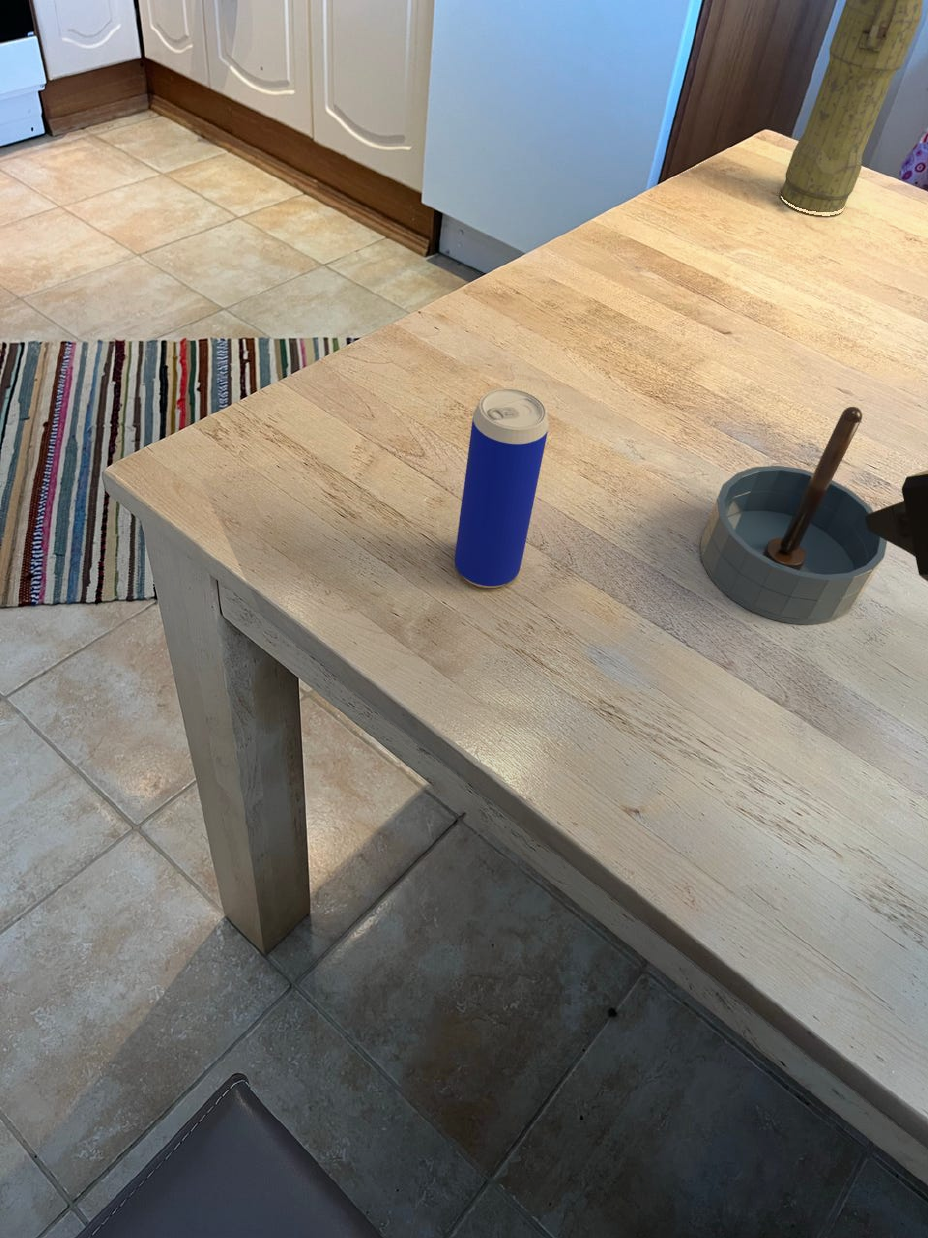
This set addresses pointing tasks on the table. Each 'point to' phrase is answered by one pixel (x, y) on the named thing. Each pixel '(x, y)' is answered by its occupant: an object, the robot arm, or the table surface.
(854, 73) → the olive tall cylinder
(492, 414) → the beverage can
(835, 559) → the bowl
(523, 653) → the table surface
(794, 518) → the stirrer
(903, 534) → the robot arm
